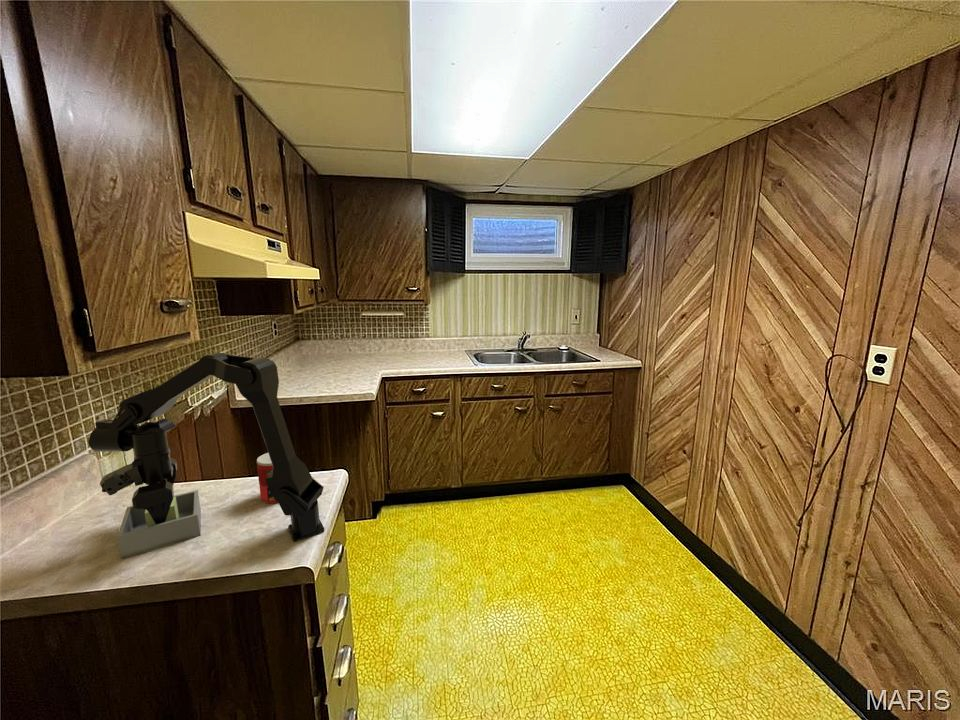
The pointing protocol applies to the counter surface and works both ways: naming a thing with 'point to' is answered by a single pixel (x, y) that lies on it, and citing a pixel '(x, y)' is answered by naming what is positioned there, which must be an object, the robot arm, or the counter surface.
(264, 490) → the canned food
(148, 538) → the grey bin
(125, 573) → the counter surface
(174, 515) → the green block
